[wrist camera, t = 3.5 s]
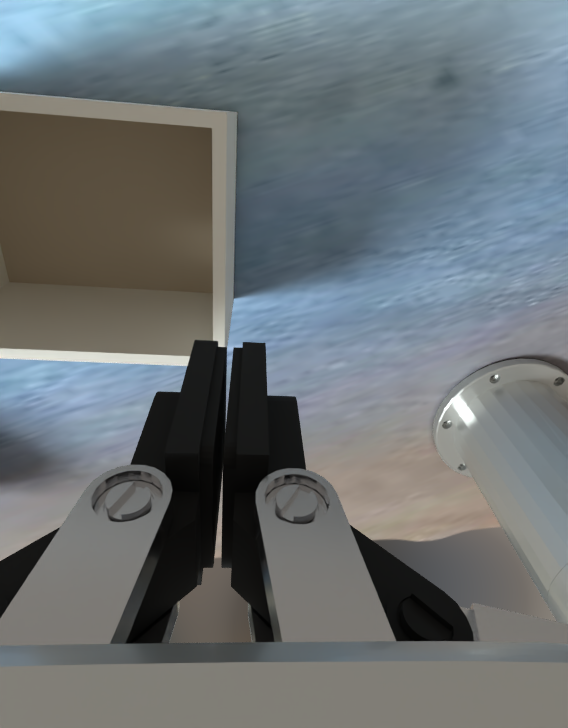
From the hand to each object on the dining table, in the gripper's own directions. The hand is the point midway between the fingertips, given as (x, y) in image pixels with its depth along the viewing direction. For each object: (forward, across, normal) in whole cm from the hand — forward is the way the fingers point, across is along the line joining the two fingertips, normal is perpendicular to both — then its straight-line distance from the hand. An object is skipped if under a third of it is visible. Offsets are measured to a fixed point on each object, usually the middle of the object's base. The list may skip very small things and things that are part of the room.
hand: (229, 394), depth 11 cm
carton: (+22, +9, 0) cm, 23 cm away
